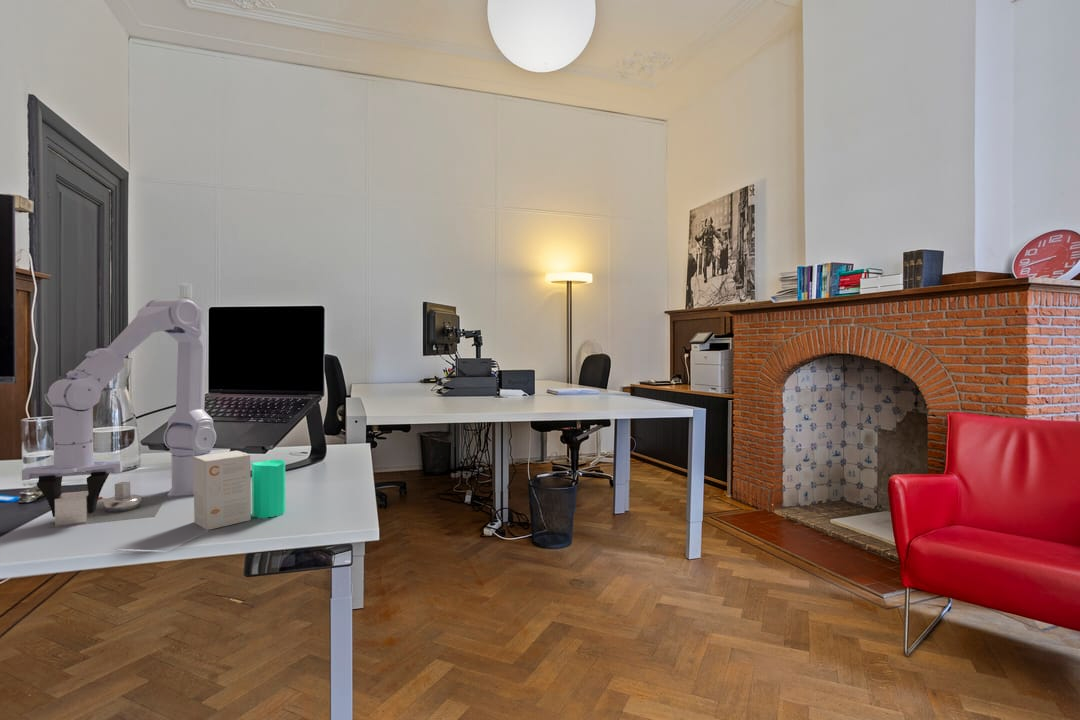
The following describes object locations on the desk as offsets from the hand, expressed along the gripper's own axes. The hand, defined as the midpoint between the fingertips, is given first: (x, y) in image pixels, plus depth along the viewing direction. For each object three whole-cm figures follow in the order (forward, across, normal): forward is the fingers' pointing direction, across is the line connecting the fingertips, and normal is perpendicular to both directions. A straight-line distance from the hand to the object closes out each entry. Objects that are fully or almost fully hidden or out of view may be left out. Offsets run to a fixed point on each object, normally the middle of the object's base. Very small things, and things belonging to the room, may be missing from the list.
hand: (74, 513), depth 104 cm
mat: (+2, +5, +5) cm, 7 cm away
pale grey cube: (+1, 0, 0) cm, 1 cm away
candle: (+2, +33, -9) cm, 34 cm away
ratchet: (+1, +3, +7) cm, 8 cm away
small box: (+2, +25, -11) cm, 27 cm away
